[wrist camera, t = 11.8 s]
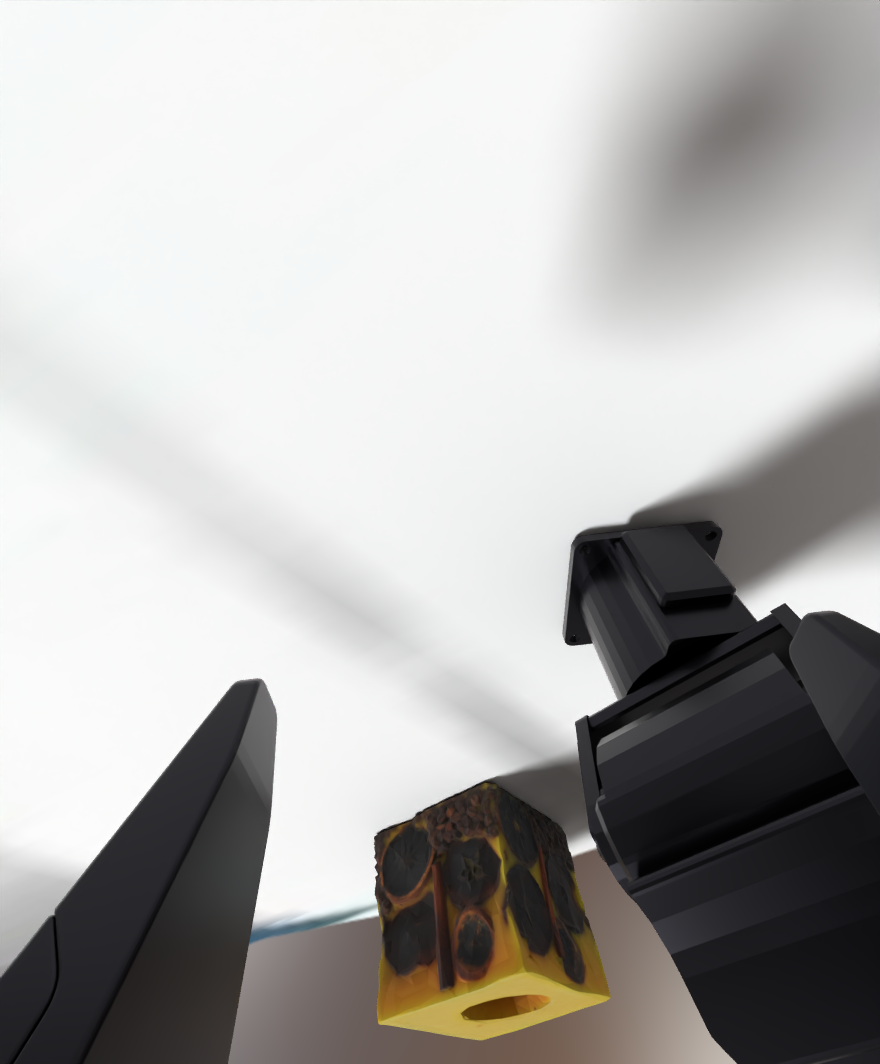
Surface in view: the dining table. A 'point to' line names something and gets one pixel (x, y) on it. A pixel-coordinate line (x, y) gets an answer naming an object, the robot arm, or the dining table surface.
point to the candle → (481, 920)
